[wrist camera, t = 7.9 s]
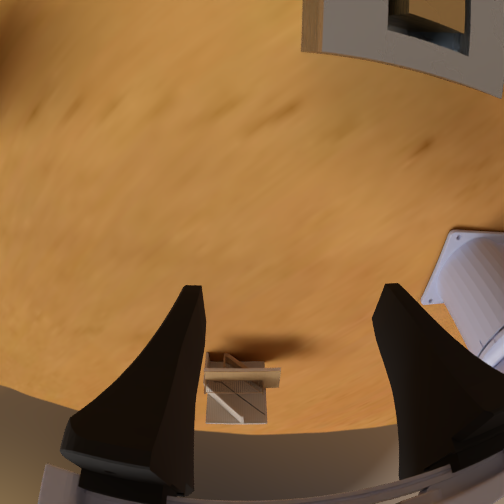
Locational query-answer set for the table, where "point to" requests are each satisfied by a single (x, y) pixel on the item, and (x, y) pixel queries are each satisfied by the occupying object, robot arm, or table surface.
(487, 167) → the table surface
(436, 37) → the grey square frame
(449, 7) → the tan wooden block
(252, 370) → the architectural model
